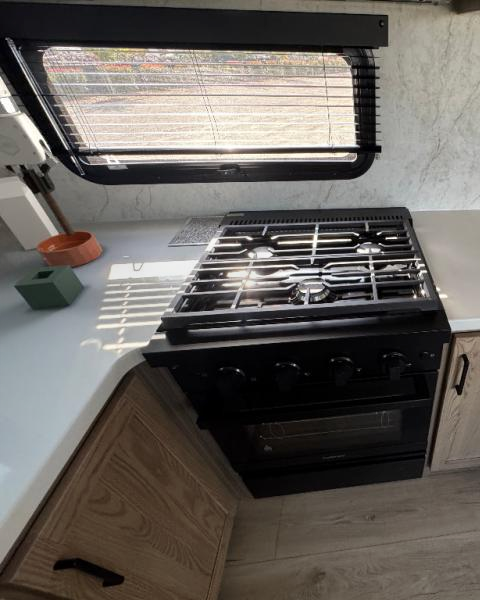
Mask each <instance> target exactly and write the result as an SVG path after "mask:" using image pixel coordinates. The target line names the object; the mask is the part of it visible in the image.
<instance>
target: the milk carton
mask: <svg viewBox="0 0 480 600" xmlns="http://www.w3.org/2000/svg"><path fill="white" fill-rule="evenodd" d="M0 217H1V219H2V221H3V222H4V223H5V225H6V226H7V227H8V228H9V230H10V231H11V232H12V234H13V235H14V236H15V238H16V239H17V241H18V242H19V243H20V245H21V246H22V247H23V249H24V250H25V251H29V250H34V249H36V247H37V245H38V244H39V243H40V242H41V241H43V240H45V239H47V238H49V237H52V236H55V235H58V234H60V233H59V232H58V230H57V228H56V227H55V226H54V224H53V222H52V221H51V219H50V218H49V216H48V215H47V213H46V211H45V210H44V209H43V207H42V206H41V204H40V203H39V201H38V199H37V198H36V196H35V194H33V193H32V191H31V190H30V189H29V188H28V186H27V185H26V183H25V182H24V181H23V180H21V179H20V177H18V176H17V175H16V176H8V177H1V178H0Z"/></svg>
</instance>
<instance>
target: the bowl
mask: <svg viewBox="0 0 480 600" xmlns="http://www.w3.org/2000/svg"><path fill="white" fill-rule="evenodd" d="M73 231H74V233H75V234H73V235H69V236H67V235H66V234H65V232H61V233H59V234H58V235H55V236H52V237H49V238H47V239H45V240H43V241H41V242H40V243H39V244H38V245H37V247H36V248H35V249H36V251H38V253H39V254H40V256H41V257H42V259H43V260H44V261H45V263H46V264H47V266H48V267H52V266H63V265H70V267H71V268H75V267H80V266H82V265H85V264H88V263H91V262H93V261H94V260H96V259H97V258H99V257H100V256H101V255H102V253H103V248H102V246H101V244H100V243H99V241H98V240H97V238H96V235H95V234H93V232H91V231H88V230H73Z"/></svg>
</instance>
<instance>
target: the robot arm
mask: <svg viewBox="0 0 480 600" xmlns="http://www.w3.org/2000/svg"><path fill="white" fill-rule="evenodd" d="M45 161H46V162H45ZM59 164H60V161H59V159H58V158H56V156H54V155H53V153H52V151H51V148H50V147H49V145H48V143H47V142H46V140H45V138H44V137H43V135H42V134H41V132H40V131H39V129H38V128H37V127H36V125H35V124H34V123H33V121H32V119H30V117H28V115H27V114H26V112H24V111H23V112H22V111H21V110H20V108H19V106H18V104H17V103H16V101H15V100H14V97H13V96H12V94H11V92H10V91H9V89H8V87H7V86H6V83H5V82H4V80H3V79H2V77H1V76H0V169H4V170H8V171H9V172H11V173H14V174H15V175H16V176H18V178H19V179H21V178H22V181H23V183H24V184H25V185H27V186H28V188H29V189H30V190H31V192H32V193H33V195H38V194H39V193H40V192H39V190H38V189H37V187H36V185H35V184H34V182H33V181H32V179H31V177H30V176H29V174H28V172H27V171H26V169H27V168H29V167H28V166H27V165H30V166H31V168H33V169H34V171H35V172H36V174H37V175H38V177H36V179H37V181H38V182H39V184H40V186H41V187H42V189H43V191H44V192H45V193H46V194H49V193H51V194H52V193H53V192H54V191H55V190H56V187H55V184H54V182H53V180H52V179H51V177H50V175H49V174H50V171H51V169H52V168H53V167H55V166H57V165H59Z"/></svg>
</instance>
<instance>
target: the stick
mask: <svg viewBox="0 0 480 600" xmlns="http://www.w3.org/2000/svg"><path fill="white" fill-rule="evenodd" d="M26 171H27V172H28V174H29V176H30V177H31V179H32V181H33V182H34V184H35V185H36V187H37V189H38V190H39V193H40V195H41V197H42V199H43V200H44V201H45V203H46V205H47V207H48V208H49V210H50V211H51V213H52V215H53V216H54V218H55V219H56V221H57V222H58V224H59V226H60V227H61V229H62V230H63V233H65V234H66V235H67V236H69V235H73V234H75V233H74V231H75V230H73V227H72V226H71V224H70V222H69V221H68V220H67V218H66V216H65V214H64V212H63V211H62V209H61V208H60V206H59V204H58V203H57V201H56V199H55V197H54V196H53V194H52V192H51V193H49V194H46V193H45V192H44V191H43V189H42V187H41V186H40V184H39V182H38V181H37V179H36V177H38V175H37V174H36V172H35V171H34V169H33V167H28V168H27V169H26Z"/></svg>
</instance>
